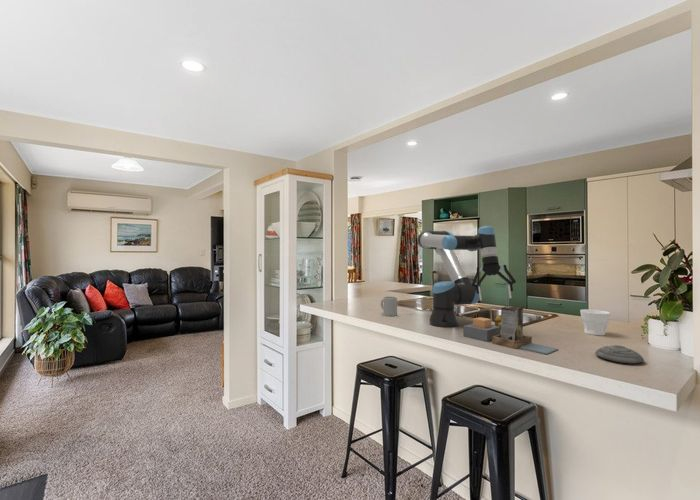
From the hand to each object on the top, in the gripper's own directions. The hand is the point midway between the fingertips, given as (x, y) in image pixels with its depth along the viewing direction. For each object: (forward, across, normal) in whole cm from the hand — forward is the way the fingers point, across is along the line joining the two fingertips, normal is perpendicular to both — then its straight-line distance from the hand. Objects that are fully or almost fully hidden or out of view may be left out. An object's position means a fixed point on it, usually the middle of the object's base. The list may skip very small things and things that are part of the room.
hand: (495, 299), depth 175 cm
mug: (+3, -61, +35) cm, 70 cm away
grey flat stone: (+27, +39, -21) cm, 52 cm away
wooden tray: (+20, +3, -11) cm, 23 cm away
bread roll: (+14, +4, +21) cm, 26 cm away
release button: (+14, -8, -4) cm, 16 cm away
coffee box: (+20, +3, -11) cm, 23 cm away
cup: (+19, +46, +22) cm, 54 cm away
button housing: (+17, -8, -3) cm, 19 cm away
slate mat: (+23, +13, -17) cm, 31 cm away
